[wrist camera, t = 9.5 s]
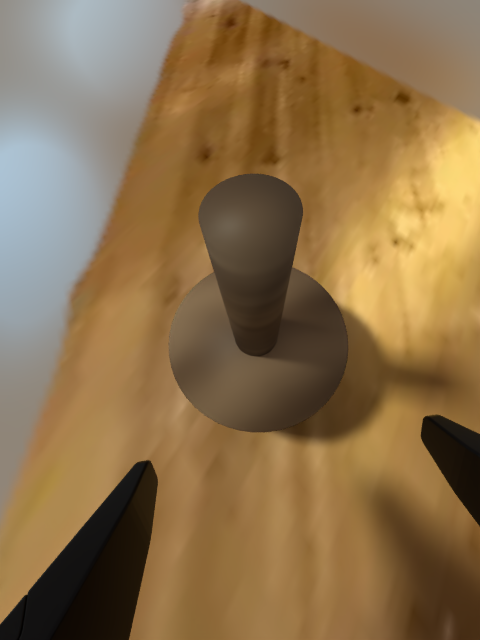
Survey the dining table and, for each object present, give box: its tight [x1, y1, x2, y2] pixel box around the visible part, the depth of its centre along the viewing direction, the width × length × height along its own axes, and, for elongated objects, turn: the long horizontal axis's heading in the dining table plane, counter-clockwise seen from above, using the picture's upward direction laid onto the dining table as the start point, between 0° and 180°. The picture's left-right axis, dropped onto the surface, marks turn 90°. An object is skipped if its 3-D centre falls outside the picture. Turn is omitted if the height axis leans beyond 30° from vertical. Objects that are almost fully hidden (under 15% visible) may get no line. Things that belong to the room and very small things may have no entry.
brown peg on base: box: [169, 174, 348, 432], centre depth 13 cm, size 12×12×12 cm
